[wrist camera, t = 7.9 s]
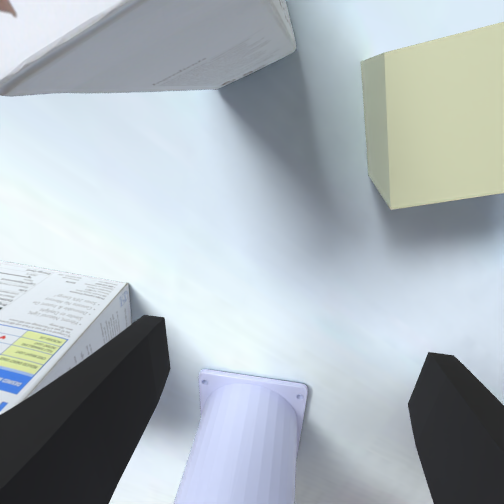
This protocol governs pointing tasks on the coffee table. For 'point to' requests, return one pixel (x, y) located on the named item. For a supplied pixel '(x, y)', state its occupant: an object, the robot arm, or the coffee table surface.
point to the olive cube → (436, 119)
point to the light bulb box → (52, 325)
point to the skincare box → (137, 44)
